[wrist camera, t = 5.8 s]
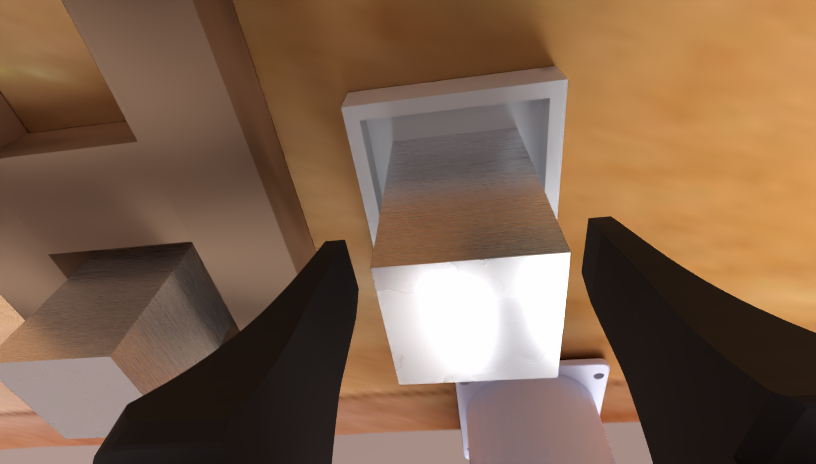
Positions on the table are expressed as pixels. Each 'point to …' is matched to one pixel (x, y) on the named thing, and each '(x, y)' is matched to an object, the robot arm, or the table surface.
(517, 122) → the shallow grey tray
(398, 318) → the billet
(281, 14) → the table surface
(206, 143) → the board
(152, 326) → the seated billet
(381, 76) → the table surface
